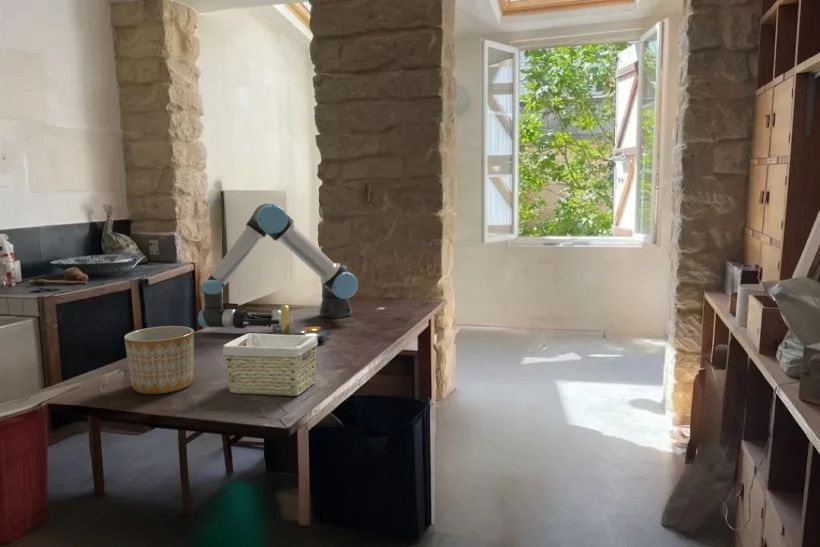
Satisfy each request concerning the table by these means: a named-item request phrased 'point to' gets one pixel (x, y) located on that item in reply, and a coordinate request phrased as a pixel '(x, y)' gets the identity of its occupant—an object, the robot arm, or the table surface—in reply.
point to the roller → (276, 315)
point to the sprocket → (304, 331)
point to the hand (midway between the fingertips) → (289, 320)
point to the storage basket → (271, 364)
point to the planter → (160, 358)
